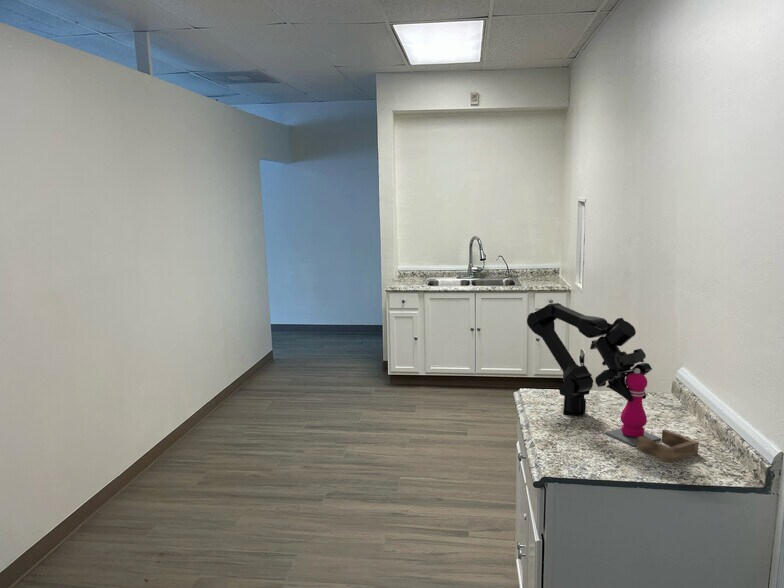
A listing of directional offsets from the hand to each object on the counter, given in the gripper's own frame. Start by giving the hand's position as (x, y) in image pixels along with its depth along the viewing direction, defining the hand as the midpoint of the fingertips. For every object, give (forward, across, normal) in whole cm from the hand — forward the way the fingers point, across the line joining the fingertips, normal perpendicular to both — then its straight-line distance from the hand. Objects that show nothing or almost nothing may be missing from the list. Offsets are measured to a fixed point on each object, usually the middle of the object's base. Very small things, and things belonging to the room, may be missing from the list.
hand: (638, 399), depth 177 cm
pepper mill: (+7, 0, +9) cm, 11 cm away
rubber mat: (+8, 0, +9) cm, 12 cm away
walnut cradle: (+15, 0, +1) cm, 15 cm away
